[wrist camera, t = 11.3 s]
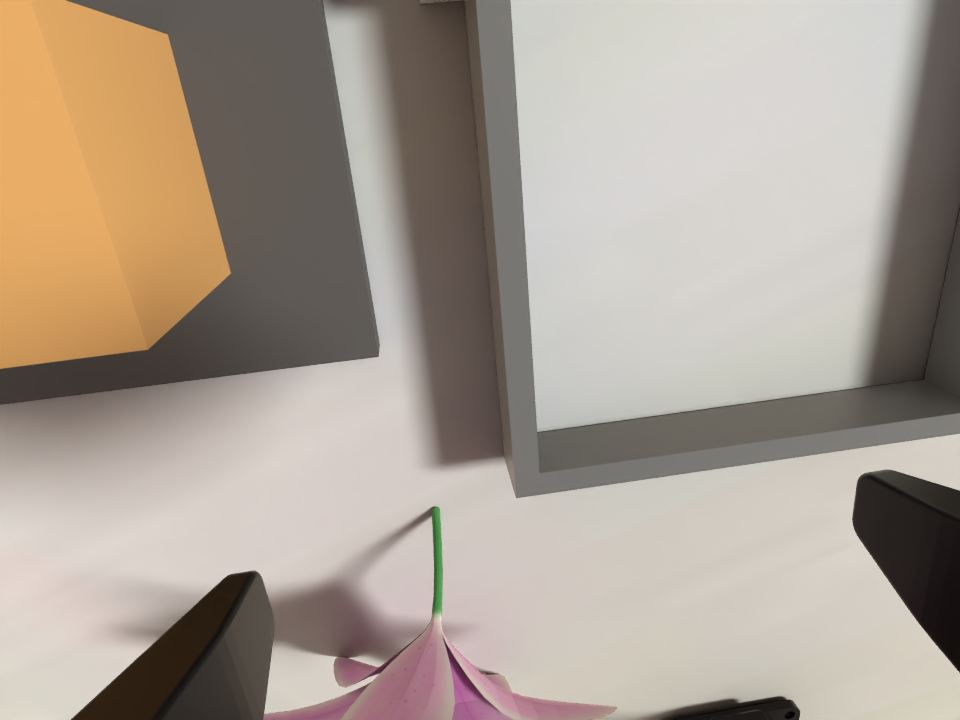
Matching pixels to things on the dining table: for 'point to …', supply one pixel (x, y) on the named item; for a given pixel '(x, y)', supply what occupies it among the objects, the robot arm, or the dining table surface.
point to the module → (96, 187)
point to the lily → (433, 682)
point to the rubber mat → (250, 204)
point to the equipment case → (676, 437)
